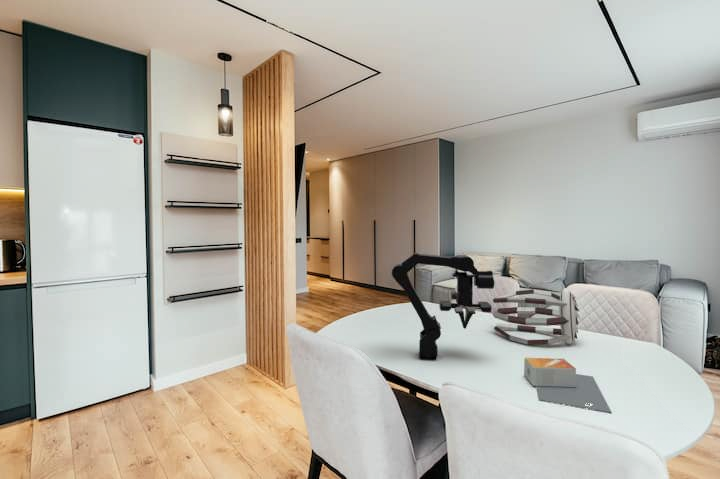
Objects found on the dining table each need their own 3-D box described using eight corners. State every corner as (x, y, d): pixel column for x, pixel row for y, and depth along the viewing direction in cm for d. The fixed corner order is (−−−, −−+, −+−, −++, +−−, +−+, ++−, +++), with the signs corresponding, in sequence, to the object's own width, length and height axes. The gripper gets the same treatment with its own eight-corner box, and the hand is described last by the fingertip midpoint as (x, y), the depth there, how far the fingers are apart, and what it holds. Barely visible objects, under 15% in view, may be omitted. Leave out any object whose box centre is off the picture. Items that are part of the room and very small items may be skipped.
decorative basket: (579, 355, 135) (487, 343, 156) (583, 337, 157) (502, 329, 178) (575, 293, 135) (484, 290, 156) (580, 284, 157) (499, 282, 178)
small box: (524, 357, 119) (563, 358, 118) (523, 375, 119) (563, 376, 118) (533, 367, 111) (576, 368, 110) (533, 386, 111) (576, 388, 110)
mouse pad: (538, 400, 103) (538, 399, 103) (533, 368, 125) (533, 367, 125) (611, 413, 96) (611, 412, 96) (592, 377, 118) (592, 376, 118)
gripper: (485, 284, 140) (485, 323, 140) (438, 283, 142) (438, 321, 143) (492, 290, 129) (491, 331, 129) (440, 289, 131) (440, 329, 132)
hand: (464, 328), depth 134 cm, fingers closed
